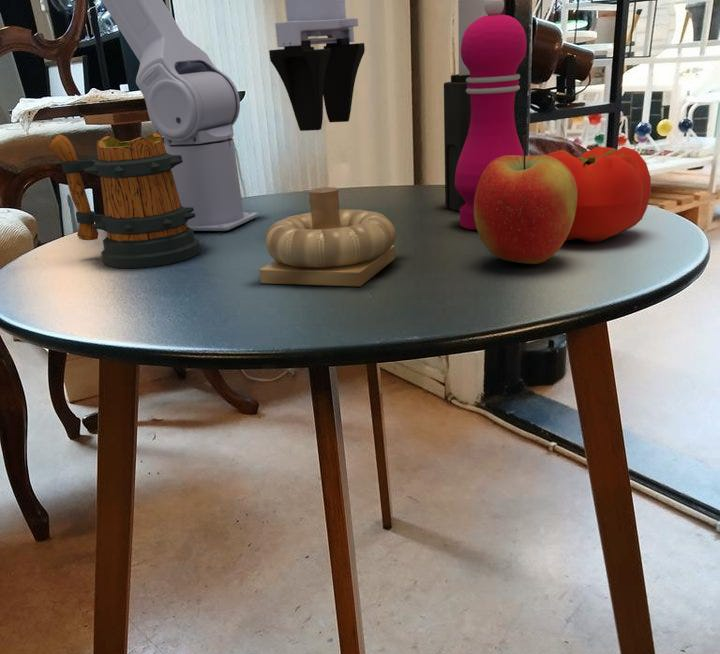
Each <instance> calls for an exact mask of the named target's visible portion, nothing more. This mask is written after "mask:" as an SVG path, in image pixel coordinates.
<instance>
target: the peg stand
mask: <svg viewBox="0 0 720 654" xmlns="http://www.w3.org/2000/svg"><path fill="white" fill-rule="evenodd" d="M308 196H309V207H310V212H311V219H312V229H332V228H341V224H340V211H339V210H340V199H339V189H338V188H337V187H334V186H325V187H323V186H322V187H315V188H312V189H310V190H308ZM395 259H396V246H395V245H394V244H393V245H392V247H391V248H390V249H389V250H388V251H386V252H385V253H384V254H382V255H381V256H380V257H378V258H376V259H373V260H369V261H365V262H362V263H358V264H354V265H348V266H338V267H329V268H304V267H294V266H290V265H287V264H283V263H279V262H277V261H275V260H273V261H271V262H270V263H268V264H266V265H265V266H263V267H261V268H259V277H260V283H261V284H271V285H272V284H275V285H276V284H277V285H299V286H300V285H301V286H330V287H331V286H332V287H333V286H334V287H356V288H357V287H359V288H361V287H362V286H363V285H364V284H366V283H367V282H368V281H370V280H371V279H372V278H373V277H375V276H376V275H377V274H378V273H379V272H380V271H383V269H385V268H386V267H387V266H388V265H389V264H391V263H392V262H393V261H394V260H395Z"/></svg>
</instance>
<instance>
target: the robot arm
mask: <svg viewBox="0 0 720 654" xmlns="http://www.w3.org/2000/svg"><path fill="white" fill-rule="evenodd" d="M100 1H101V3H102V4H103V6H104V7H105V9H106V10H107V12H108V13H109V16H110V17H111V19H112V20H113V22H114V23H115V25H116V27H117V28H118V30H119V32H120V33H121V35H122V36H123V37H124V39H125V41H126V42H127V44H128V46H129V48H130V49H131V51H132V52H133V53H134V55H135V57H136V59H137V60H138V62H139V66H138V67H139V68H138V71H137V74H136V76H135V77H136V78H135V84H136V86H137V87H138V90H140V93H141V94H142V96H143V99H144V101H145V106H146V111H147V114H148V119H149V120H150V122H151V125H152V126H153V127H154V129H155V130H156V131H157V133H159V134H160V135H161V136H162V138H163V142H164V146H165V149H166V153H168V154H171V155H181V157H182V158H181V159H182V160H183V162H182V163H180V164H178V165H176V166H174V168H172V169H171V170H172V174H173V178H174V181H175V185H176V188H177V192H178V195H179V199H180V202H181V206H182V207H185V208H188V207H193V209H194V211H192V212H191V213H195V217H194V218H191V219H189V220H188V221H187V222H186V223H187V227H190V228H191V229H193V231H195V232H198V231H199V232H211V231H212V232H227V231H230V230H232V229H235V228H236V227H238V226H241V225H243V224H246V223H247V222H250V221H252V220H254V219H256V218H258V217H259V212H249V211H248V212H244V207H243V206H244V205H243V199H242V191H241V185H240V177H239V169H238V165H237V164H238V162H237V155H236V148H235V140H234V125H235V123H236V122H237V120H238V118H239V115H240V111H241V100H240V95H239V91H238V89H237V87H236V85H235V83H234V82H233V80H232V79H231V78H230V77H229V76H228V75H227V74H226V73H224V72H223V71H221V70H220V69H218V68H217V67H216V65H215V64H214V63H213V62H212V60H211V58H210V56H209V55H208V54H207V53H206V52H205V51H204V50H203V49H201V48H200V47H199V46H198V45H196V44H195V43H193V42H192V41H191V40H189V39H188V38H187V37H186V36H185V35H184V34H183V31H182V30H181V29H180V27H179V25H178V24H177V23H178V22H176V20H175V18H174V17H173V15H172V13H171V11H170V10H169V8H168V7H167V5H166V3H165V2H164V1H163V0H100ZM284 2H285V12H286V13H285V14H286V21H282V22H281V21H280V22H275V23H274V25H275V34H276V35H275V36H276V44H277V47H278V49H269V50H268V55H269V61H270V62H271V64H272V65H273V67H274V68H275V70H276V72H277V73H278V75H279V77H280V79H281V81H282V83H283V85H284V89H285V90H286V93H287V96H288V98H289V101H290V104H291V107H292V111H293V114H294V117H295V120H296V123H297V127H298V129H299V131H300V132H306V131H307V132H308V131H321V130H322V127H323V119H324V107H325V114H326V117H327V120H328V123H346V122H347V123H348V122H349V121H350V119H351V118H350V117H351V112H352V105H353V96H354V89H355V83H356V79H357V76H358V75H357V74H358V70H359V67H360V64H361V61H362V59H363V56H364V54H365V52H366V51H365V49H366V48H365V43H364V42H358V43H357V42H356V43H354V42H355V34H354V33H355V31H354V27H355V28H356V27H358V26H359V18H358V17H351V18H347V12H346V11H347V8H346V0H284ZM309 37H316V38H309ZM313 45H324V46H323V48H316V49H315V46H313ZM279 48H280V49H279Z"/></svg>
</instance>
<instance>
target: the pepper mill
mask: <svg viewBox="0 0 720 654" xmlns="http://www.w3.org/2000/svg"><path fill="white" fill-rule="evenodd" d="M504 8H505V1H504V0H486V1H485V4H484V9H485V12H486V14H487V16H483V17H481V18H479V19H477V20H475V21H474V22H473V23H471V24H470V25H469V27H468V28H467V29H466V31H465V33H464V35H463V38H462V43H461V58H462V61H463V63H464V65H465V66H466V67H467V69H468V70H469V72H470V77H468V78H467V79H466V82H467V83H468V85H467V87H468V88H467V89H466V93H468V94H470V98H471V120H470V127H469V131H468V135H467V138H466V141H465V144H464V146H463V149H462V152H461V155H460V157H459V160H458V164H457V168H456V173H455V187H456V190H457V191H458V193H459V194H460V195H461V197H462V198H463V199H464V201H465V203H466V204H465V205H463V206H461V208H460V212H459V226H460V227H461V228H463V229H466V230H470V231H477V228H476V224H475V218H474V199H475V193H476V189H477V186H478V183H479V180H480V177H481V175H482V173H483V171H484V170H485V168H486V167H487V165H488V164H489V163H490V162H492V161H493V160H494V159H496V158H498V157H501V156H505V155H518V156H524V151H523V145H522V144H521V142H520V138H519V135H518V131H517V127H516V119H515V100H516V92H518V91H519V90H520V89H521V86H520V85H519V84H520V81H519V80H520V79H521V74H519V73H517V70H518V68H519V66H520V64H522V62H523V61H524V60H525V59H524V58H525V57H526V53H527V48H528V47H527V46H528V44H527V42H528V41H527V35H526V31H525V28H524V26H523V25H522V24H521V23H520V21H519V20H517V18H515V17H513V16H511V15H507V14H503V11H504Z"/></svg>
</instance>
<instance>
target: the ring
mask: <svg viewBox="0 0 720 654" xmlns="http://www.w3.org/2000/svg"><path fill="white" fill-rule="evenodd" d="M339 211H340V224H341V228H332V229H312V219H311V211H310V212H304V213H300V214H296V215H290V216H287V217H284V218H282V219H280V220H278V221H276V222H274V223H273V224H271V225H270V226H269V227H268V229H267V230H266V232H265V233H266V234H265V238H264V240H265V245H266V250H267V252H268V254H269V256H270V257H271V258H272V259H273V261H277V262H279V263H283V264H287V265H290V266H294V267H304V268H329V267H338V266H348V265H354V264H358V263H362V262H365V261H369V260H373V259H376V258H378V257H380V256H381V255H382V254H384V253H385V252H386V251H388V250H389V249H390V248H391V247H392V245H394V244H395V241H396V237H397V236H396V235H397V234H396V232H397V231H396V229H395V228H396V227H395V226H394V224H393V223H392V221H390V219H389V218H387V216H385V215H384V214H382V213H381V212H377V211H371V210H366V209H365V210H364V209H339Z"/></svg>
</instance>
